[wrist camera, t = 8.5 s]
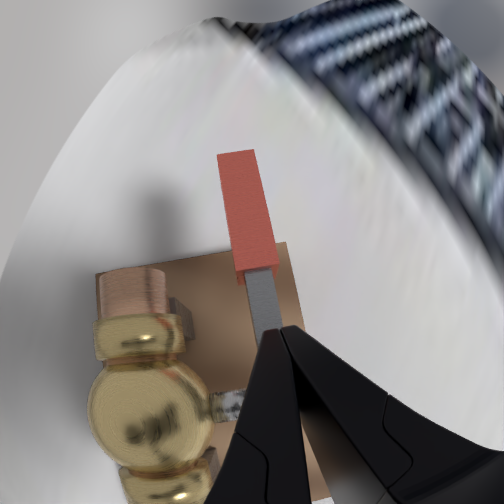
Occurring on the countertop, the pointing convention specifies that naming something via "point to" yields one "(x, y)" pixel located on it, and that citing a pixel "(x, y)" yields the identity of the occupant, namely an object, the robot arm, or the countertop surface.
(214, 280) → the mounting board
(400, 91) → the countertop surface
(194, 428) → the valve body
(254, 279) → the valve lever
